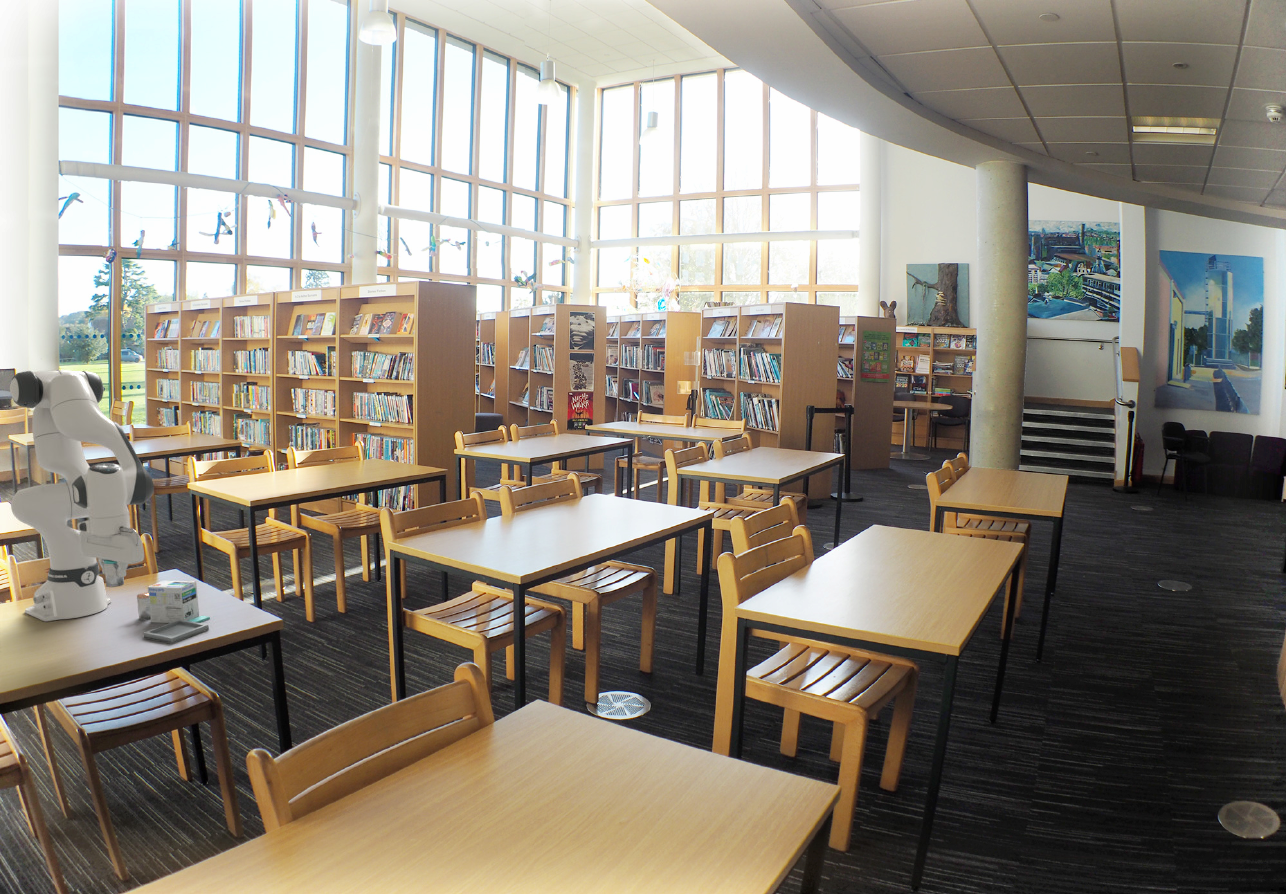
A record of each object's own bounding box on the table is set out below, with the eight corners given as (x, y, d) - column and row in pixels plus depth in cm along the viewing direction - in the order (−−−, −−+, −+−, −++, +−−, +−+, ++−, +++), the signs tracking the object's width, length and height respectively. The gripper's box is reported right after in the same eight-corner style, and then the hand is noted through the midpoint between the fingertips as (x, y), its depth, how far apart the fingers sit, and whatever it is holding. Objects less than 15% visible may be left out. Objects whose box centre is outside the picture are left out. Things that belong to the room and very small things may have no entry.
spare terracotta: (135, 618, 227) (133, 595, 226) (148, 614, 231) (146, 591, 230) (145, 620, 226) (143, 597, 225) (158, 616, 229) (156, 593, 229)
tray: (143, 638, 212) (143, 632, 212) (180, 624, 223) (180, 619, 222) (172, 643, 208) (171, 638, 208) (208, 629, 218) (208, 624, 218)
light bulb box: (200, 616, 230) (197, 580, 228) (184, 624, 223) (181, 587, 222) (166, 614, 231) (163, 579, 229) (149, 623, 224) (146, 586, 223)
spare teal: (102, 586, 209) (100, 560, 208) (117, 581, 213) (115, 556, 212) (112, 588, 208) (110, 562, 207) (127, 583, 212) (125, 558, 210)
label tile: (186, 623, 224) (186, 621, 224) (202, 617, 228) (202, 615, 228) (194, 624, 223) (194, 622, 223) (209, 618, 227) (209, 616, 227)
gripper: (148, 526, 207) (152, 577, 209) (96, 518, 215) (101, 567, 217) (125, 532, 201) (129, 583, 203) (72, 523, 209) (77, 573, 211)
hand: (114, 575), depth 210 cm, fingers closed on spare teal, 4 cm apart
